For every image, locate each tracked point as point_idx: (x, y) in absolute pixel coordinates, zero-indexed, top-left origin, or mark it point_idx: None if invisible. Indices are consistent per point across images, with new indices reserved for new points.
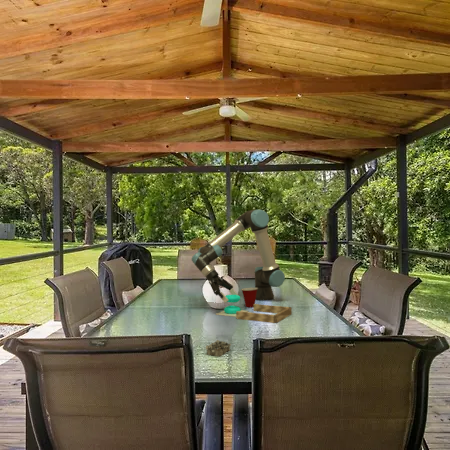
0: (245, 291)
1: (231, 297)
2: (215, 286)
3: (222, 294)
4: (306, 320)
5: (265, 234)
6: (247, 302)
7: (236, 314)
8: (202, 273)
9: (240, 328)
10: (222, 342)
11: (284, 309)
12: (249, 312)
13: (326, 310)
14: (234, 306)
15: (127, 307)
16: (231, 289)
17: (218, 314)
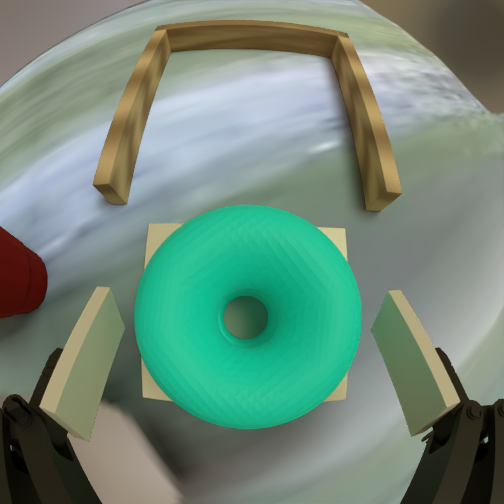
0: None
1: (348, 275)
2: (498, 490)
3: (439, 370)
4: (247, 10)
5: None
6: (29, 281)
7: (393, 200)
8: None
9: (465, 146)
10: None
11: (163, 45)
12: (370, 117)
13: (94, 26)
14: (222, 305)
15: None
16: (67, 412)
17: (346, 376)
